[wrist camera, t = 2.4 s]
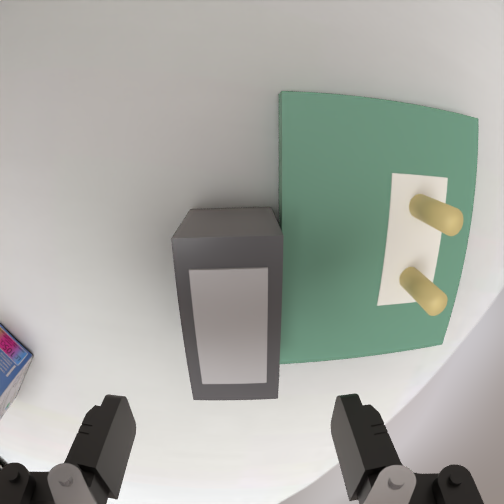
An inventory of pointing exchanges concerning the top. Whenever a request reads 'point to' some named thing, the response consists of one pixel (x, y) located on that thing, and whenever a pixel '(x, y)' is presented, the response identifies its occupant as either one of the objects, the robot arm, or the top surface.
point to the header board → (370, 223)
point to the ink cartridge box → (11, 368)
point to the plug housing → (230, 301)
